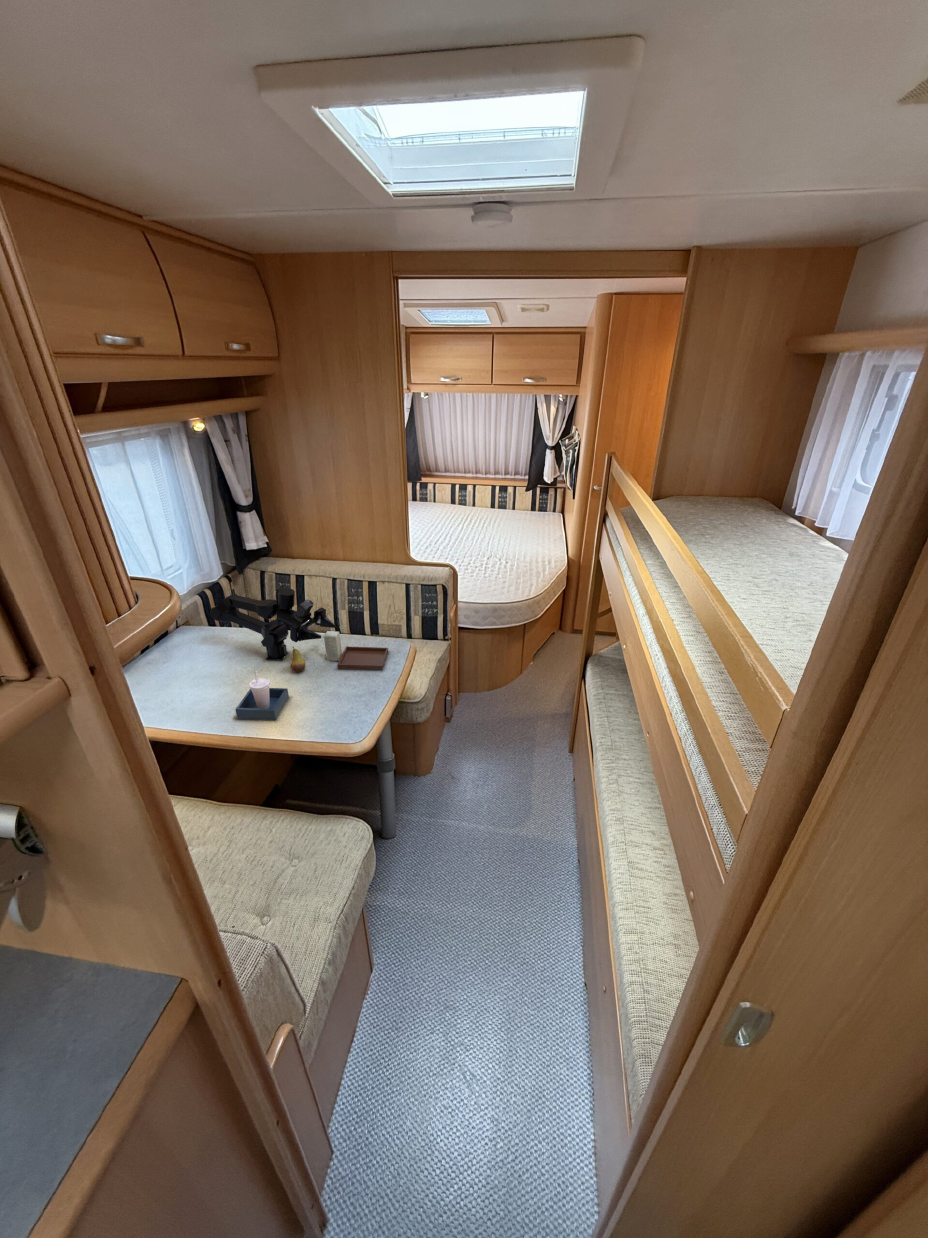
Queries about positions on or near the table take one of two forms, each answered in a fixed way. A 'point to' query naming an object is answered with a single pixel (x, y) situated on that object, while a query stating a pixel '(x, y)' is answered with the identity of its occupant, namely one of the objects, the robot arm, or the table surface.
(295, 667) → the fruit
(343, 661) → the tray
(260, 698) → the smoothie
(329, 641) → the box
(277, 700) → the bin
